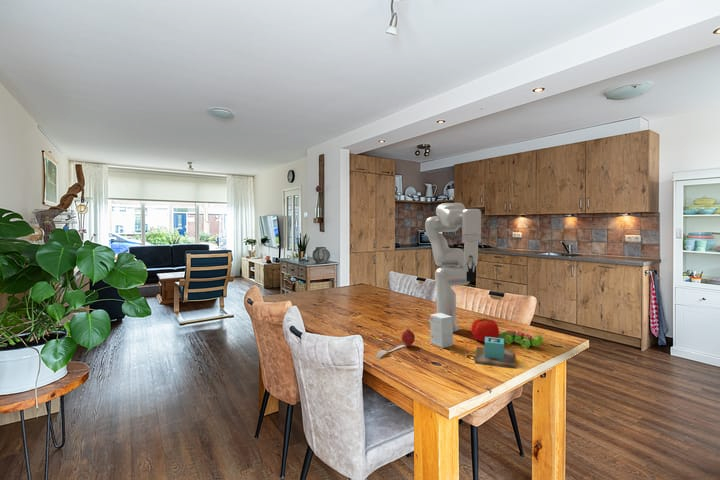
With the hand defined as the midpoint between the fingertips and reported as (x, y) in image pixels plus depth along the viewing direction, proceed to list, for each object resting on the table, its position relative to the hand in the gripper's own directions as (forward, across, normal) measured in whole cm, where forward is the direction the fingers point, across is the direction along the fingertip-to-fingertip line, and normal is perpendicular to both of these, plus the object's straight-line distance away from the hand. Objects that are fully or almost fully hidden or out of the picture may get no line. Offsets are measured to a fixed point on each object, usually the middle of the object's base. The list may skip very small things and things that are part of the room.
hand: (471, 279), depth 144 cm
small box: (+30, -4, -13) cm, 33 cm away
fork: (+31, +12, -32) cm, 46 cm away
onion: (+30, +3, -26) cm, 40 cm away
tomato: (+30, -15, +5) cm, 34 cm away
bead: (+29, +5, +9) cm, 31 cm away
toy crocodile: (+31, -15, +19) cm, 39 cm away
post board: (+30, +5, +9) cm, 32 cm away
